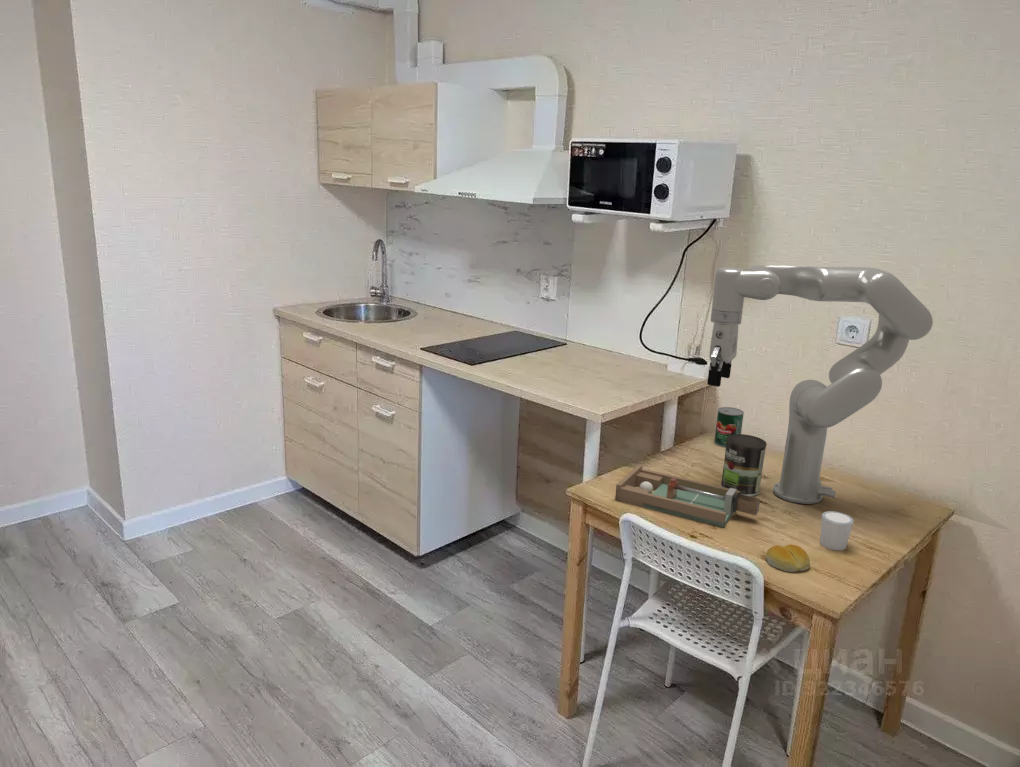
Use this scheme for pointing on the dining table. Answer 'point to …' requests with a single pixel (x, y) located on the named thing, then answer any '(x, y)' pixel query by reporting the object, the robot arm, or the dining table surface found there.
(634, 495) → the pitch
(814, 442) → the robot arm
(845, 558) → the dining table surface
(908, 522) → the dining table surface
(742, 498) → the kicker rod
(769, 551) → the bread roll
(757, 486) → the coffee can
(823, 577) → the dining table surface
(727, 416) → the canned tomato
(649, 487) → the ball
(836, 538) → the white cup
